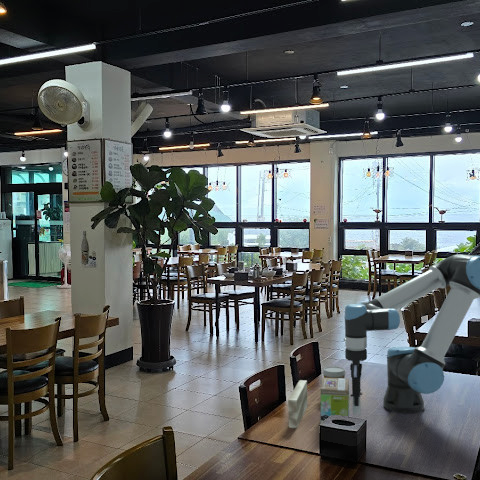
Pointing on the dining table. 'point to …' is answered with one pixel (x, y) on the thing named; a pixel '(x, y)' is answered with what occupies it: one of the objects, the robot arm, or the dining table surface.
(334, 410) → the tea box
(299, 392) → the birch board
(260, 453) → the dining table surface
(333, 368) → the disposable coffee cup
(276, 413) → the dining table surface
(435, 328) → the robot arm
